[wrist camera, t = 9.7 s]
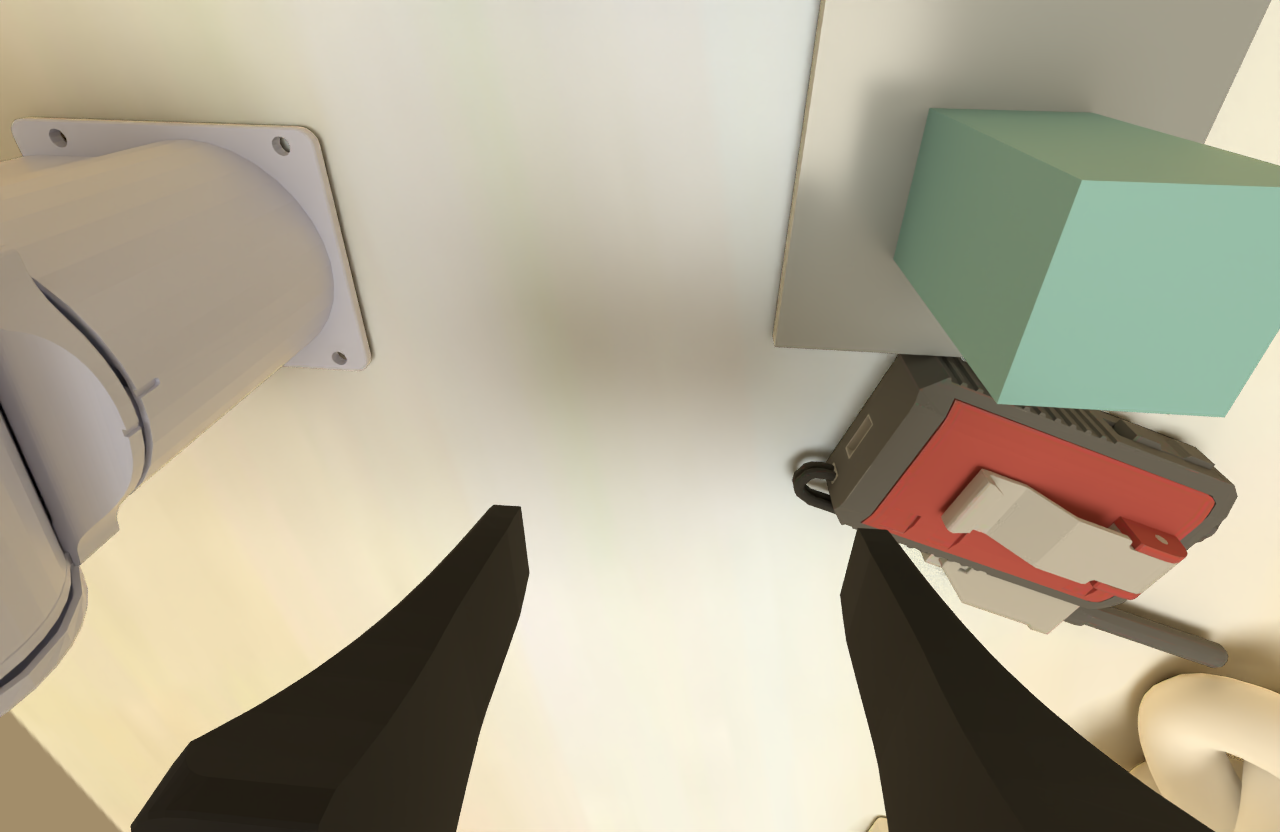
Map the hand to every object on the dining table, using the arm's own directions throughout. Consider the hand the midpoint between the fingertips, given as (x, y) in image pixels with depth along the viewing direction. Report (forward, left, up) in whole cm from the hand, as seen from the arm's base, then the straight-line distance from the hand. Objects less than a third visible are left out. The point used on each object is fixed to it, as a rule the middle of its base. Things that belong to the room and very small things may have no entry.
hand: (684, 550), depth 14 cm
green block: (+8, +6, -9) cm, 13 cm away
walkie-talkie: (+14, -6, -10) cm, 18 cm away
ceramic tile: (+8, +6, -9) cm, 13 cm away
